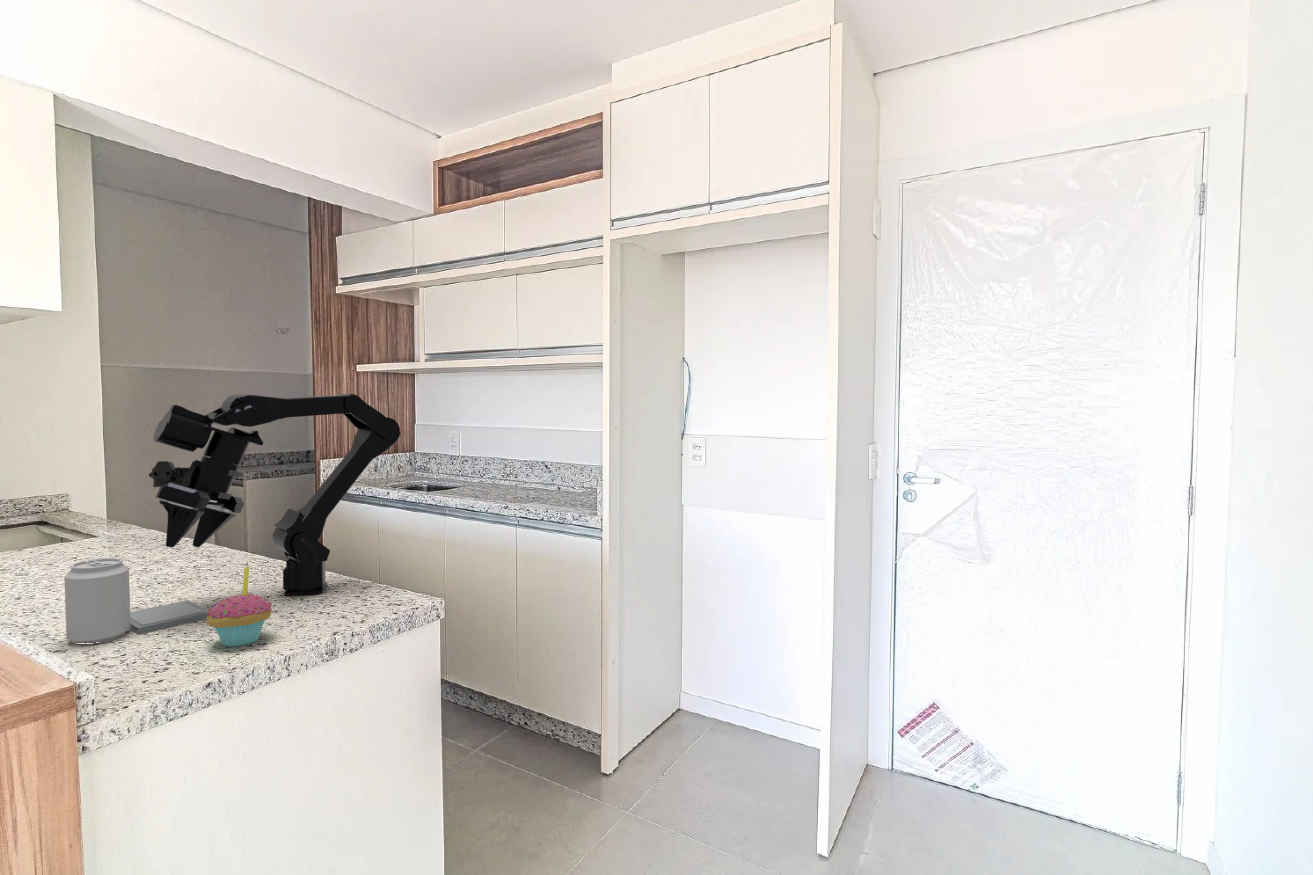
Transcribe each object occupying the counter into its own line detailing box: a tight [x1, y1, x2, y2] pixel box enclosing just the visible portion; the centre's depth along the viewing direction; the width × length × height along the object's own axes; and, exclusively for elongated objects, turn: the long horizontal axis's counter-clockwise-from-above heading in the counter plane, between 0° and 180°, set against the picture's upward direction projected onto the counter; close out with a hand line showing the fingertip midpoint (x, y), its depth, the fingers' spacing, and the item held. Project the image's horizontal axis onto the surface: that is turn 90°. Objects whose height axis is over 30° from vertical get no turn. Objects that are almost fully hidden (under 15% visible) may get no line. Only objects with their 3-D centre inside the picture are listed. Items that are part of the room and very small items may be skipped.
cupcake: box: [206, 560, 273, 648], centre depth 98 cm, size 9×8×12 cm
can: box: [64, 557, 131, 644], centre depth 99 cm, size 8×8×12 cm
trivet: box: [129, 599, 210, 635], centre depth 107 cm, size 10×10×1 cm
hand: (183, 546), depth 110 cm, fingers open, 9 cm apart
